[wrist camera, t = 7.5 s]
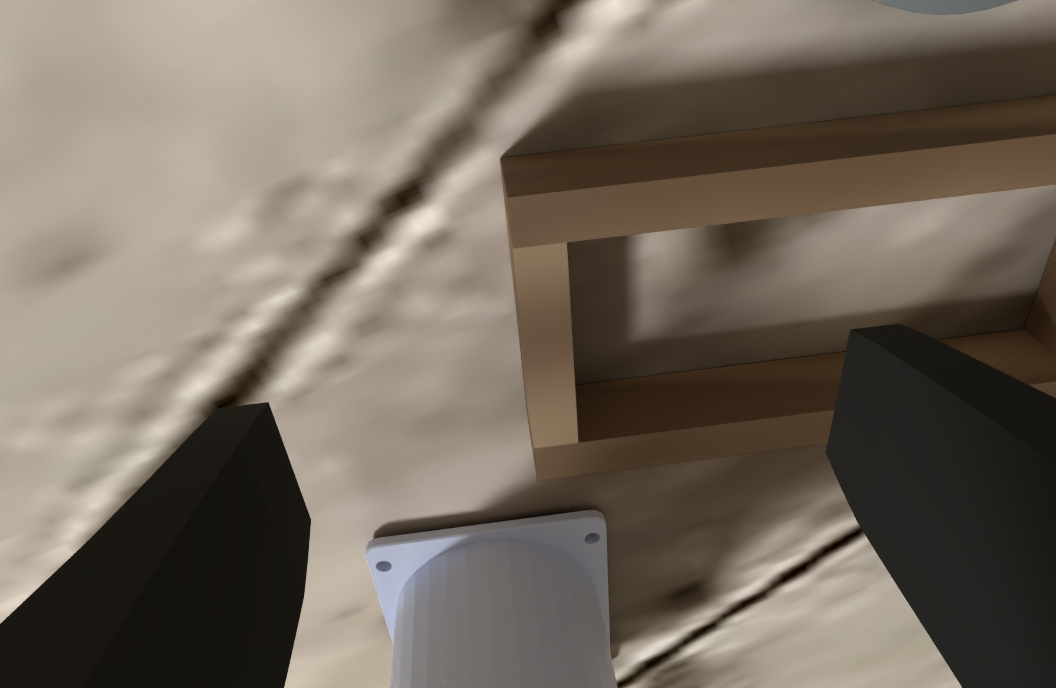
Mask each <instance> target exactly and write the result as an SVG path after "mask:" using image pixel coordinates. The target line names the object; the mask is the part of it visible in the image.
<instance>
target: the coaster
mask: <svg viewBox="0 0 1056 688" xmlns="http://www.w3.org/2000/svg"><path fill="white" fill-rule="evenodd" d="M873 1H876V2H879V3H882V4H886V5H889V6H892V7H896V8H899V9H903V10H906V11H909V12H916V13H924V14H933V15H948V14H965V13H970V12H976V11H982V10H987V9H991V8H994V7H998V6H1001V5H1004V4H1007V3H1010V2H1014V1H1017V0H873Z"/></svg>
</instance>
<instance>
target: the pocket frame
mask: <svg viewBox="0 0 1056 688" xmlns="http://www.w3.org/2000/svg"><path fill="white" fill-rule="evenodd" d="M500 163H501V172H502V182H503V191H504V200H505V210H506V219H507V228H508V238H509V247H510V256H511V266H512V275H513V284H514V294H515V303H516V312H517V322H518V331H519V341H520V350H521V359H522V369H523V378H524V387H525V397H526V406H527V415H528V424H529V431H530V437H531V444H532V450H533V457H534V464H535V470H536V477H537V481H541V480H549V479H557V478H564V477H572V476H580V475H587V474H595V473H603V472H610V471H618V470H626V469H633V468H641V467H649V466H657V465H664V464H672V463H680V462H687V461H695V460H703V459H710V458H718V457H726V456H733V455H741V454H749V453H756V452H764V451H772V450H780V449H787V448H795V447H803V446H810V445H818V444H826V443H828V439H829V434H830V429H831V424H832V419H833V414H834V409H835V404H836V399H837V394H838V389H839V384H840V379H841V374H842V369H843V364H844V359H845V354H846V351H845V352H837V353H829V354H821V355H813V356H806V357H798V358H790V359H782V360H774V361H766V362H758V363H750V364H742V365H734V366H726V367H718V368H710V369H702V370H694V371H686V372H678V373H670V374H662V375H654V376H646V377H638V378H630V379H622V380H614V381H606V382H598V383H591V384H583V385H575V375H574V358H573V340H572V323H571V306H570V288H569V271H568V253H567V242H575V241H583V240H592V239H600V238H608V237H617V236H625V235H634V234H642V233H651V232H659V231H668V230H676V229H684V228H693V227H701V226H710V225H718V224H727V223H735V222H743V221H752V220H760V219H769V218H777V217H786V216H794V215H803V214H811V213H819V212H828V211H836V210H845V209H853V208H862V207H870V206H879V205H887V204H895V203H904V202H912V201H921V200H929V199H938V198H946V197H954V196H963V195H971V194H980V193H988V192H997V191H1005V190H1014V189H1022V188H1030V187H1039V186H1047V185H1056V95H1049V96H1040V97H1031V98H1022V99H1013V100H1005V101H996V102H987V103H978V104H970V105H961V106H952V107H943V108H934V109H926V110H917V111H908V112H899V113H891V114H882V115H873V116H864V117H855V118H847V119H838V120H829V121H820V122H812V123H803V124H794V125H785V126H777V127H768V128H759V129H750V130H741V131H733V132H724V133H715V134H706V135H698V136H689V137H680V138H671V139H662V140H654V141H645V142H636V143H627V144H619V145H610V146H601V147H592V148H583V149H575V150H566V151H557V152H548V153H540V154H531V155H522V156H513V157H504V158H500ZM938 341H940V342H942V343H944V344H946V345H948V346H950V347H952V348H955V349H957V350H959V351H961V352H963V353H965V354H967V355H969V356H971V357H973V358H975V359H977V360H979V361H981V362H983V363H985V364H987V365H989V366H991V367H993V368H995V369H997V370H999V371H1002V372H1004V373H1006V374H1008V375H1010V376H1012V377H1014V378H1016V379H1018V380H1020V381H1022V382H1024V383H1026V384H1028V385H1030V386H1032V387H1034V388H1036V389H1038V390H1040V391H1042V392H1044V393H1046V394H1048V395H1050V396H1052V397H1055V398H1056V241H1055V244H1054V247H1053V249H1052V252H1051V255H1050V258H1049V261H1048V263H1047V266H1046V269H1045V272H1044V274H1043V277H1042V280H1041V283H1040V286H1039V288H1038V291H1037V294H1036V297H1035V300H1034V302H1033V305H1032V308H1031V311H1030V313H1029V316H1028V319H1027V322H1026V325H1025V327H1024V329H1020V330H1013V331H1005V332H997V333H989V334H981V335H973V336H965V337H957V338H949V339H941V340H938Z"/></svg>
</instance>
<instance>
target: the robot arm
mask: <svg viewBox="0 0 1056 688" xmlns="http://www.w3.org/2000/svg"><path fill="white" fill-rule="evenodd" d="M826 454H827V456H828V459H829V461H830V463H831V466H832V468H833V470H834V472H835V475H836V477H837V479H838V482H839V484H840V486H841V488H842V491H843V493H844V495H845V497H846V499H847V501H848V503H849V505H850V507H851V509H852V512H853V514H854V516H855V518H856V520H857V522H858V524H859V525H860V527H861V528H862V530H863V532H864V533H865V535H866V537H867V538H868V540H869V542H870V543H871V545H872V546H873V548H874V550H875V551H876V553H877V554H878V556H879V558H880V559H881V561H882V562H883V564H884V565H885V567H886V569H887V570H888V572H889V573H890V575H891V577H892V578H893V580H894V581H895V583H896V584H897V586H898V588H899V589H900V591H901V592H902V594H903V595H904V597H905V599H906V600H907V602H908V603H909V605H910V606H911V608H912V609H913V611H914V613H915V614H916V616H917V617H918V619H919V620H920V622H921V624H922V625H923V627H924V628H925V630H926V631H927V633H928V634H929V636H930V638H931V639H932V641H933V642H934V644H935V645H936V647H937V649H938V650H939V652H940V653H941V655H942V656H943V658H944V659H945V661H946V663H947V664H948V666H949V667H950V669H951V670H952V672H953V674H954V675H955V677H956V678H957V680H958V681H959V683H960V685H961V686H962V688H1056V398H1055V397H1052V396H1050V395H1048V394H1046V393H1044V392H1042V391H1040V390H1038V389H1036V388H1034V387H1032V386H1030V385H1028V384H1026V383H1024V382H1022V381H1020V380H1018V379H1016V378H1014V377H1012V376H1010V375H1008V374H1006V373H1004V372H1002V371H999V370H997V369H995V368H993V367H991V366H989V365H987V364H985V363H983V362H981V361H979V360H977V359H975V358H973V357H971V356H969V355H967V354H965V353H963V352H961V351H959V350H957V349H955V348H952V347H950V346H948V345H946V344H944V343H942V342H940V341H938V340H935V339H933V338H931V337H929V336H927V335H924V334H922V333H920V332H918V331H915V330H913V329H910V328H908V327H905V326H903V325H900V324H892V325H884V326H876V327H868V328H860V329H852V330H850V334H849V339H848V344H847V349H846V354H845V359H844V364H843V369H842V374H841V379H840V384H839V389H838V394H837V399H836V404H835V409H834V414H833V419H832V424H831V429H830V434H829V439H828V444H827V449H826ZM310 526H311V519H310V516H309V513H308V510H307V507H306V505H305V502H304V499H303V496H302V494H301V491H300V488H299V485H298V483H297V480H296V477H295V474H294V472H293V469H292V466H291V463H290V460H289V458H288V455H287V452H286V449H285V447H284V444H283V441H282V438H281V436H280V433H279V430H278V427H277V425H276V422H275V419H274V416H273V414H272V411H271V408H270V405H269V402H266V403H258V404H250V405H242V406H234V407H226V408H218V409H217V410H216V411H215V412H214V413H213V414H212V415H210V416H209V417H208V418H207V419H206V420H205V421H204V422H203V423H202V424H201V425H200V426H199V427H198V428H197V429H196V430H195V431H194V432H193V433H192V434H191V435H190V436H189V437H188V438H187V439H186V441H185V442H184V443H183V444H182V445H181V446H180V447H179V448H178V449H177V450H176V451H175V452H174V453H173V454H172V455H171V456H170V457H169V458H168V459H167V460H166V461H165V462H164V463H163V465H162V466H161V467H160V468H159V469H158V470H157V471H156V472H155V473H154V474H153V475H152V476H151V477H150V478H149V479H148V480H147V481H146V482H145V483H144V484H143V485H142V486H141V487H140V488H139V489H138V490H137V492H136V493H135V494H134V495H133V496H132V497H131V498H130V499H129V500H128V501H127V502H126V503H125V504H124V505H123V506H122V507H121V508H120V509H119V510H118V511H117V512H116V513H115V514H114V515H113V516H112V517H111V518H110V519H109V520H108V521H107V522H106V523H105V524H104V525H103V526H102V527H101V528H100V529H99V530H98V531H97V532H96V533H95V534H94V535H93V536H92V537H91V538H90V539H89V540H88V541H87V542H86V543H85V544H84V545H83V546H82V547H81V548H80V549H79V550H78V551H77V552H76V553H75V554H74V555H73V556H72V557H71V558H70V559H68V560H67V561H66V562H65V563H64V564H63V565H62V566H61V567H60V568H59V569H58V570H57V571H56V572H55V573H54V574H53V575H52V576H50V577H49V578H48V579H47V580H46V581H45V582H44V583H43V584H42V585H41V586H40V587H39V588H38V589H37V590H36V591H35V592H34V593H33V594H31V595H30V596H29V597H28V598H27V599H26V600H25V601H24V602H23V603H22V604H21V605H20V606H19V607H18V608H17V609H16V610H15V611H14V612H12V613H11V614H10V615H9V616H8V617H7V618H6V619H5V620H4V621H3V622H2V623H1V624H0V688H284V686H285V681H286V677H287V672H288V668H289V664H290V659H291V655H292V650H293V645H294V641H295V636H296V632H297V627H298V623H299V618H300V613H301V608H302V604H303V599H304V592H305V582H306V573H307V563H308V551H309V539H310ZM591 533H595V534H592V535H588V534H591ZM366 560H367V563H368V566H369V569H370V573H371V576H372V579H373V582H374V585H375V588H376V592H377V595H378V598H379V601H380V604H381V608H382V611H383V614H384V617H385V620H386V624H387V627H388V630H389V633H390V636H391V639H392V643H393V657H392V672H391V687H390V688H618V687H617V683H616V678H615V673H614V669H613V664H612V659H611V654H610V627H609V595H608V564H607V532H606V522H605V518H604V515H603V514H602V513H601V512H599V511H596V510H586V511H578V512H571V513H563V514H555V515H548V516H540V517H533V518H525V519H518V520H510V521H502V522H495V523H487V524H480V525H472V526H464V527H457V528H449V529H442V530H434V531H426V532H419V533H411V534H404V535H396V536H389V537H381V538H376V539H373V540H371V541H370V542H369V543H368V544H367V546H366ZM381 561H387V562H381Z"/></svg>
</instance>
